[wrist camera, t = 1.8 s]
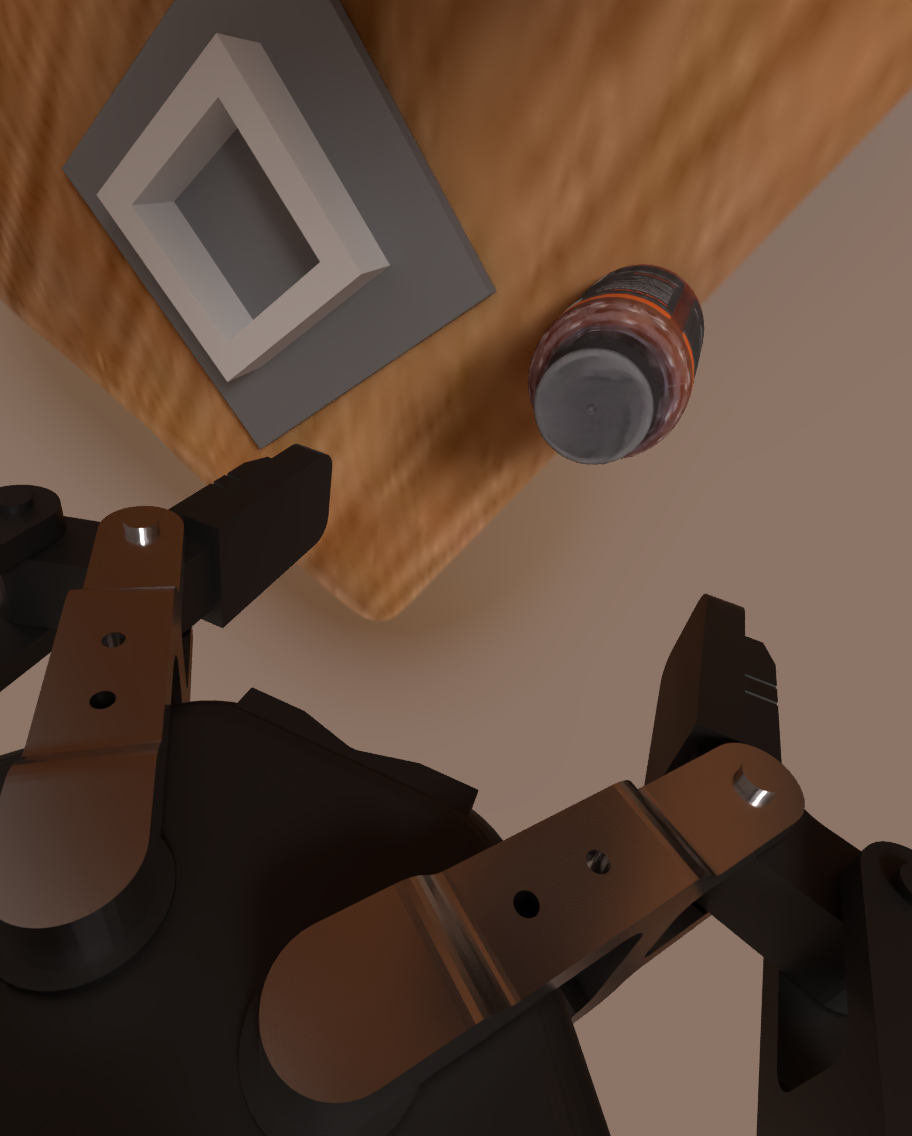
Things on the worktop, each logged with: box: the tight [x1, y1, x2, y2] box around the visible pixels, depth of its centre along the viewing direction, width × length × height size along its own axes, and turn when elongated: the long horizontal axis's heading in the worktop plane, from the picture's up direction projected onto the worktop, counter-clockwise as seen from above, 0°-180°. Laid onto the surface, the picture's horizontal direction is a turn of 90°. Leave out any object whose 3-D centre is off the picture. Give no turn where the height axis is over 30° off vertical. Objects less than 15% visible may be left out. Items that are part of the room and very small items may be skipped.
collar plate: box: [62, 0, 496, 449], centre depth 32 cm, size 18×18×4 cm
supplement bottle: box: [528, 265, 704, 464], centre depth 25 cm, size 6×6×11 cm
